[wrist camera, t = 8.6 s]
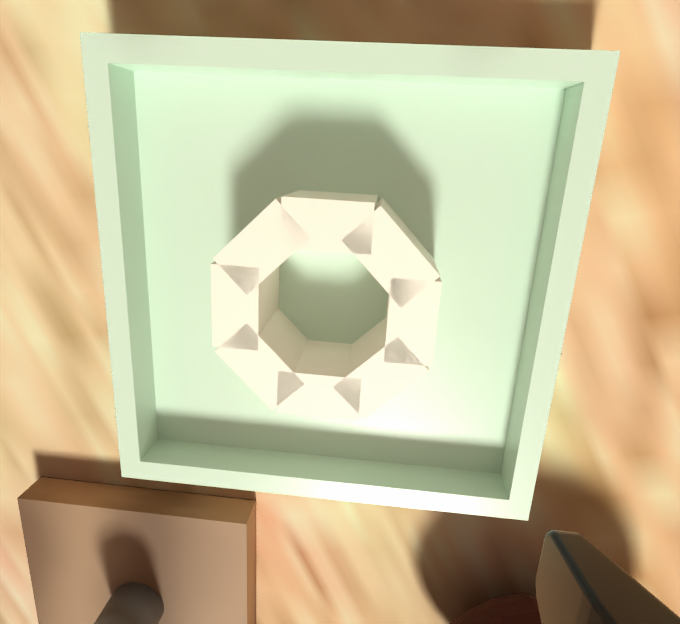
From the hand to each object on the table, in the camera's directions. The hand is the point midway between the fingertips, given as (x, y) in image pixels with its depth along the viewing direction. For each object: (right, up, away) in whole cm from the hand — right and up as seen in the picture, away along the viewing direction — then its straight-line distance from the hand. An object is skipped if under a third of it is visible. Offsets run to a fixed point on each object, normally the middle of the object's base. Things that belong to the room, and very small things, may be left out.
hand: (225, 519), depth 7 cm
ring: (+1, +4, +11) cm, 12 cm away
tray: (+1, +4, +12) cm, 12 cm away
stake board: (-7, -10, +17) cm, 21 cm away
